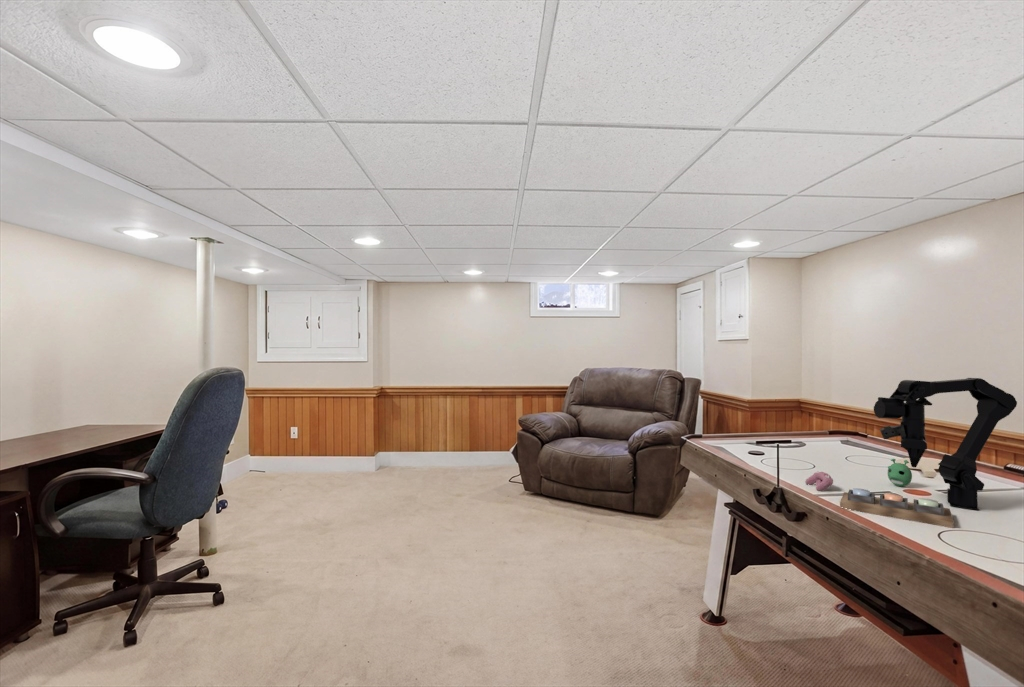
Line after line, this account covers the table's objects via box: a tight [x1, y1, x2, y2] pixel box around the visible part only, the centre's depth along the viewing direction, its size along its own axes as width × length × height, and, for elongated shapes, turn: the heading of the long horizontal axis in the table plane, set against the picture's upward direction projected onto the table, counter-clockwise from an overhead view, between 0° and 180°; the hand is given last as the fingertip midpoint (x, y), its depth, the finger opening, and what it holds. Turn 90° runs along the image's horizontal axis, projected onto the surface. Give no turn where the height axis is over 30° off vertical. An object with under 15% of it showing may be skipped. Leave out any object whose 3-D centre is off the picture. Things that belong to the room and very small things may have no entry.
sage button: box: [917, 497, 939, 507], centre depth 139 cm, size 4×4×3 cm
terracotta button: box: [883, 492, 904, 502], centre depth 145 cm, size 4×4×3 cm
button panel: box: [839, 489, 954, 529], centre depth 145 cm, size 26×14×4 cm, turn 50°
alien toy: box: [887, 458, 913, 487], centre depth 174 cm, size 7×8×10 cm
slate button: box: [852, 488, 871, 497], centre depth 150 cm, size 4×4×3 cm
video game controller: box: [805, 471, 834, 492], centre depth 171 cm, size 10×5×7 cm, turn 171°
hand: (913, 467), depth 152 cm, fingers closed
